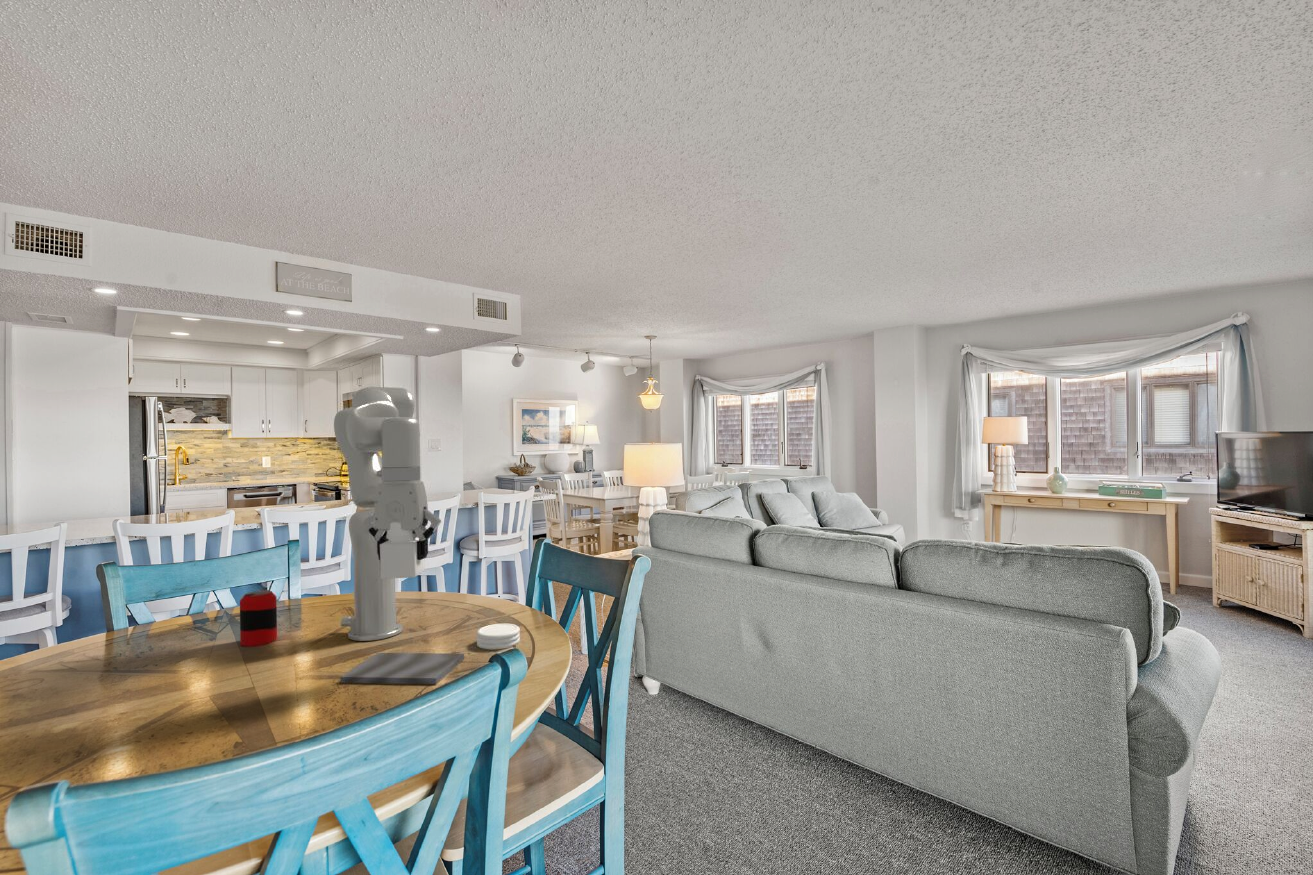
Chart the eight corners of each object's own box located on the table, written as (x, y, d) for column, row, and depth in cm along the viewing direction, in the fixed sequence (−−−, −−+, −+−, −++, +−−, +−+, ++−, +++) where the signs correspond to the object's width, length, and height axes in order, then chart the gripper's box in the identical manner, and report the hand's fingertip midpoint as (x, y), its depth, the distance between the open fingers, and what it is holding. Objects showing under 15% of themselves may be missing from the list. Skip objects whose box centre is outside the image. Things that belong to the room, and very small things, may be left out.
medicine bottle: (391, 571, 134) (390, 516, 134) (425, 570, 134) (424, 515, 134) (379, 579, 127) (378, 520, 127) (415, 577, 127) (414, 519, 127)
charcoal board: (340, 682, 124) (340, 676, 124) (377, 657, 138) (377, 652, 138) (436, 684, 123) (436, 678, 123) (464, 658, 137) (464, 653, 137)
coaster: (507, 652, 141) (507, 636, 141) (468, 649, 144) (468, 634, 144) (527, 638, 151) (526, 623, 151) (490, 635, 153) (489, 621, 153)
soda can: (233, 645, 149) (232, 595, 149) (263, 635, 156) (262, 588, 156) (254, 648, 146) (253, 598, 146) (284, 638, 153) (283, 590, 153)
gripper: (351, 477, 128) (353, 562, 128) (433, 476, 126) (434, 562, 126) (371, 475, 135) (373, 555, 135) (448, 474, 134) (450, 555, 134)
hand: (402, 558), depth 131 cm, fingers closed on medicine bottle, 7 cm apart
